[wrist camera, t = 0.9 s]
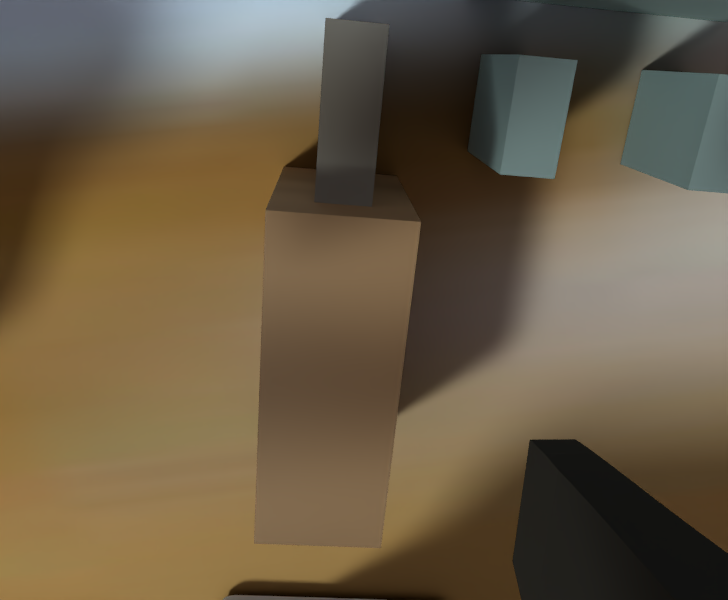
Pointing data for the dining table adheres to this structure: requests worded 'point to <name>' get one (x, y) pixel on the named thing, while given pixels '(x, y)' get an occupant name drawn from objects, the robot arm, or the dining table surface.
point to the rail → (334, 315)
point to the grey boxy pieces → (648, 121)
